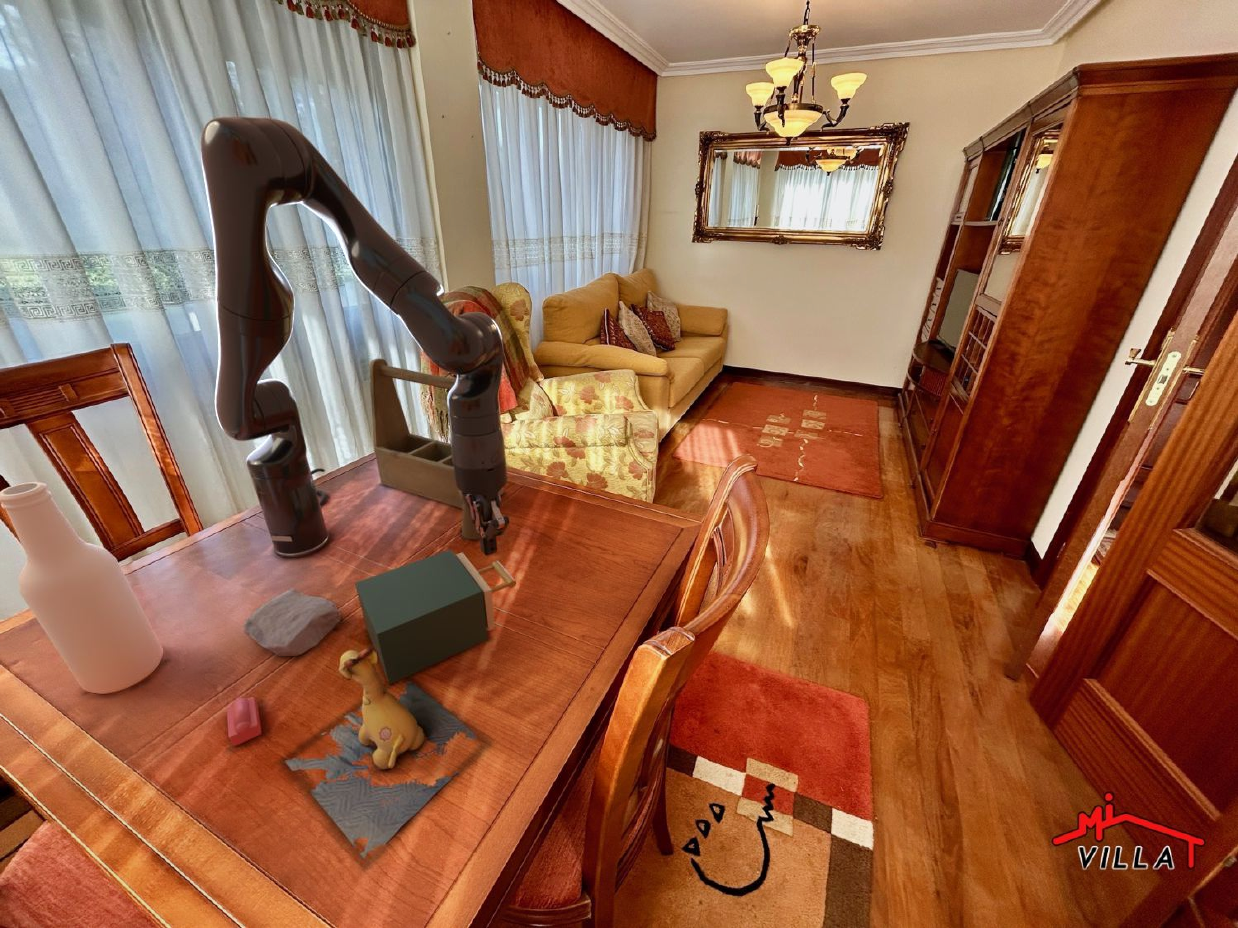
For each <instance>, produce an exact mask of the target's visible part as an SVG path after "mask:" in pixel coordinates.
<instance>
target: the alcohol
mask: <svg viewBox="0 0 1238 928" xmlns="http://www.w3.org/2000/svg"><path fill="white" fill-rule="evenodd" d="M52 496H53V495H52V492H51V491H50V490H48V485H47V484H46V483H44V482H40V481H29V482H23V483H18V484H14V485H11V486H8V487H6V488H4V489H2V490H1V491H0V506H1V508H2V509H3V510H5V511H6V513H7V516H8V518H9V520H10V522H11V524H12V527H13V529H14V531H15V534H16V535H17V537H18V539H19V543H20V544H21V546H22V549H23V551H24V553H25V555H26V563H25V564H24V566H23V568H22V570H21V571H20V574H19V575H18V578H17V581H18V588H19V593H20V595H21V597H22V598H23V599H24V602H25V603H26V605H27V606H28V608H29V609H30V611H31V612H32V614H33V615H34V617H35V619H36V620H37V621H38V623H39V625H40V626H41V627H42V629H43V631H44V632H45V634H46V635H47V638H49V640H50V641H51V643H52V645H53V646H54V647H55V649H56V652H58V654H59V655H60V657H61V659H62V660H63V662H64V663H65V665H66V666H67V668H68V669H69V671H70V672H71V674H72V676H73V677H74V679H75V680H76V682H77V683H78V685H79V686H80V688H81V689H82V690H83V691H86V692H89V693H94V694H98V695H102V694H103V695H104V694H105V695H106V694H113V693H117V692H121V691H123V690H125V689H128V688H130V687H132V686H134V685H136V684H138V683H140V682H141V681H143V680H145V679H146V678H147V677H148V676H150V675H151V674H152V673H153V672H154V671H156V669H157V668H158V666H159V665H160V663H161V660H162V658H163V655H164V649H163V646H162V644H161V642H160V640H159V639H158V636H157V635H156V632H155V631H154V629H153V627H152V624H151V623H150V620H149V619H148V617H147V615H146V614H145V612H144V609H143V607H142V606H141V604H140V602H139V600H138V598H137V596H136V594H135V592H134V589H133V588H132V586H131V584H130V582H129V581H128V578H127V577H126V575H125V573H124V571H123V569H122V567H121V565H120V562H119V561H118V559H117V558H116V557H115V556H114V555H113V554H112V553H111V552H110V551H109V550H108V549H106V548H104V547H102V546H100V545H98V544H97V545H96V544H94V543H90V542H86V541H85V540H83V539H82V538H81V537H80V536H79V534H78V533H77V531H76V530H75V528H74V527H73V526H72V524H71V523H70V521H69V520H68V519H67V517H66V516H65V514H64V513H63V512H62V511H61V509H60V507H59V506H58V505H57V503H56V502H55V499H53V497H52Z"/></svg>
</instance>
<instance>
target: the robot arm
mask: <svg viewBox="0 0 1238 928" xmlns="http://www.w3.org/2000/svg"><path fill="white" fill-rule="evenodd" d="M200 158H201V159H200V160H201V169H202V173H203V179H204V180H203V181H204V186H205V187H204V188H205V192H206V198H207V204H208V210H209V216H210V223H211V228H212V237H213V238H212V239H213V251H214V265H215V266H214V267H215V268H214V269H215V315H216V324H217V325H216V326H217V338H218V339H217V340H218V341H217V342H218V364H217V371H216V372H217V373H216V383H215V391H214V407H215V414H216V418H217V422H218V424H219V426H220V429H222V431H223V432H224V434H226V436H227V437H229V438H230V439H232V440H234V441H238V442H249V441H254V440H259V439H262V438H265V437H267V438H266V440H265V441H264V442H263V443H262V444H261V445H260V446H258V447H257V448H256V449H254V450H253V451H252V452H251V453H249V455H248V456H247V458H246V460H245V461H246V462H245V464H246V468H247V471H248V475H249V477H250V480H251V483H252V486H253V489H254V491H255V494H256V498H257V501H258V503H259V506H260V509H261V512H262V515H263V518H264V521H265V524H266V527H267V531H268V532H269V535H270V539H271V542H272V544H273V550H274V553H275V554H276V556H278V557H281V558H286V559H295V558H300V557H302V558H303V557H305V556H308V555H311V554H314V553H316V552H319V550H321V549H323V548H324V547H325V546H327V545H328V543H329V541H330V533H329V531H328V529H327V524H326V521H325V518H324V517H325V516H324V514H323V510H322V507H323V505H324V503H325V502H326V500H327V493H325V492H324V491H322V490H319V489H316V485H315V480H314V478H313V475H314V474H316V473H319V472H321V473H324V472H326V470H325V469H324V468H322V467H321V468H319V467H318V468H315V469H312V470H311V467H310V463H309V460H308V457H307V455H308V454H307V453H308V449H307V448H308V447H307V443H306V439H305V435H304V430H303V425H302V419H301V415H300V409H299V406H298V403H297V400H296V398H295V395H294V394H293V392H292V390H291V389H290V387H289V386H288V385H287V384H286V383H285V382H283V381H282V380H280V379H278V378H268V379H263V380H262V379H261V378H262V376H263V374H265V372H266V370H267V369H268V368H269V367H270V366H271V365H272V364H273V362H274V361H275V360H276V359H277V358H278V357H279V355H280V354H281V353H282V352H283V350H284V349H285V347H286V346H287V344H288V343H289V341H290V340H291V337H292V335H293V328H294V317H295V305H296V304H295V294H294V290H293V288H292V286H291V284H290V281H289V280H288V278H287V277H286V275H285V273H284V272H283V271H282V269H281V268H280V266H279V265H278V264H277V263H276V262H275V260H274V258H273V257H272V255H271V254H270V251H269V248H268V245H267V218H268V212H269V210H270V208H271V207H279V206H289V205H295V204H301V205H302V206H304V207H305V208H307V209H308V210H310V211H311V212H312V213H314V214H315V215H316V216H317V217H319V218H320V219H322V220H323V221H324V222H325V223H326V224H327V225H328V226H329V228H331V230H332V231H333V233H334V234H335V236H336V237H337V239H338V242H339V243H340V246H341V249H342V251H343V254H344V256H345V259H346V262H347V264H348V266H349V267H350V269H351V271H352V272H353V274H354V276H355V277H356V279H357V280H358V281H359V282H360V283H361V285H362V286H363V287H364V288H365V289H366V290H367V291H369V293H370V294H371V295H372V296H373V297H374V298H376V299H377V300H378V301H379V302H380V303H382V304H383V305H384V306H385V307H386V308H387V309H388V310H389V311H390V312H391V313H393V314H394V315H395V316H396V317H397V318H399V319H400V320H401V322H402V324H403V325H404V326H405V328H406V329H407V331H408V333H409V334H410V336H411V337H412V338H413V339H414V341H415V342H416V343H417V345H418V346H419V348H420V350H422V353H424V354H425V356H426V357H427V358H428V359H429V361H431V363H433V364H434V365H436V367H438V368H440V370H443V371H445V372H446V373H449V374H451V375H456V379H457V380H456V383H455V384H454V386H453V387H452V388H451V390H449V391H448V393H447V396H446V407H447V413H448V422H449V431H450V441H449V443H450V444H451V452H452V460H453V467H454V474H455V482H456V486H457V488H458V489H459V490H460V491H462V495H463V497H464V500H465V503H466V506H467V509H468V512H469V515H470V517H471V521H472V523H473V524H476V530H477V532H478V533H479V537H480V539H479V545H480V551H481V553H483V555H484V556H486V557H488V556H491V555H493V554H496V553H498V542H497V541H498V539H497V537H501V536H503V535H504V533H505V532H506V530H507V529H508V526H509V524H510V523H511V522H510V518H509V515H502V513H501V506H502V498H501V495H499V494H498V492H499V491H500V489H501V488H502V487H503V488H504V487H505V486H506V484H507V482H508V471H507V469H508V468H507V459H506V458H507V457H506V445H505V437H504V433H503V428H502V419H501V418H502V417H501V407H500V406H501V405H500V399H499V394H500V388H501V383H502V374H503V366H504V365H503V364H504V341H503V336H502V334H501V330H500V327H499V326H498V325H497V323H496V322H495V321H494V319H493V318H492V317H491V316H490V315H488V314H486V313H484V312H481V311H469V312H465V313H461V314H459V315H457V316H456V315H455V314H454V313H452V311H450V310H449V308H448V307H447V306H446V305H445V303H444V300H445V289H444V287H443V285H442V283H440V282H439V280H438V279H437V278H436V277H435V276H434V275H433V274H432V273H431V272H430V271H428V270H427V269H426V268H425V267H424V266H423V265H422V264H421V263H420V262H419V261H417V260H416V259H415V258H414V257H413V256H412V255H411V254H410V253H409V252H408V251H407V250H406V249H405V248H404V247H403V246H402V245H400V243H398V242H397V241H396V240H395V239H394V238H393V236H391V235H390V234H389V233H388V232H387V231H386V230H385V229H384V228H383V227H382V226H381V224H380V223H378V221H377V220H376V219H375V218H374V216H373V215H372V214H371V213H370V212H369V210H368V209H367V208H366V207H365V206H364V204H363V203H362V202H361V201H360V199H358V197H357V196H356V194H354V192H353V191H352V190H351V189H350V187H349V186H348V185H347V184H346V183H345V182H344V180H343V179H342V178H341V177H340V176H339V174H338V173H337V172H336V171H335V169H334V168H333V167H332V166H331V164H330V163H329V162H328V161H327V160H326V158H325V157H324V156H323V154H322V153H321V152H320V151H319V150H318V149H317V147H316V146H315V145H314V144H313V143H312V142H311V141H310V140H309V139H308V138H307V137H306V136H305V135H304V134H303V133H302V132H301V131H300V130H299V129H297V128H296V127H295V126H293V125H292V124H290V123H289V122H288V121H283V120H281V119H277V118H270V117H251V116H250V117H247V116H222V117H221V116H220V117H215V118H213V119H210V120H209V121H208V122H207V123H206V124H205V126H204V128H203V129H202V133H201V140H200ZM260 379H261V380H260ZM319 495H321V500H319Z"/></svg>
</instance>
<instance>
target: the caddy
mask: <svg viewBox="0 0 1238 928" xmlns="http://www.w3.org/2000/svg"><path fill="white" fill-rule="evenodd" d="M394 379H396V380H401V381H406V382H411V383H415V384H422V385H427V386H431V387H435V388H439V389H444V390H449V391H450V390H451V388H452V387H453V386H454V384H455V383H456V380H457V378H453V377H447V376H441V375H436V374H430V373H424V372H420V371H416V370H411V369H406V368H401V367H395V366H391V365H389V364H388V362H387V360H386V359H385V358H381V357H378V358H377V357H376V358H374V359H372V360H370V362H369V382H370V383H369V385H370V405H371V406H370V407H371V419H372V439H373V450H374V455H375V460H376V465H377V469H378V470H377V471H378V474H379V479H380V484H382V485H383V486H387V487H389V488H393V489H398V490H400V491H403V492H406V493H410V494H414V495H417V496H421V497H423V498H427V499H430V500H433V501H437V502H439V503H443V504H445V505H450V506H452V507H456V508H460V509H462V510H463V502H462V501H461V499H460V497H459V489H458V488H457V486H456V482H455V474H454V467H453V460H452V452H451V443H450V442H445V441H441V440H438V439H432V438H429V437H425V436H422V435H418V434H414V433H411V432H410V429H409V426H408V422H407V420H406V417H405V413H404V410H403V408H402V404H401V401H400V398H399V396H398V393H397V388H396V385H395V382H394ZM498 494H499V495H500V496H502V495H503V494H504V486H503V487H502V488H501V489H500V491H499V492H498Z"/></svg>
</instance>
